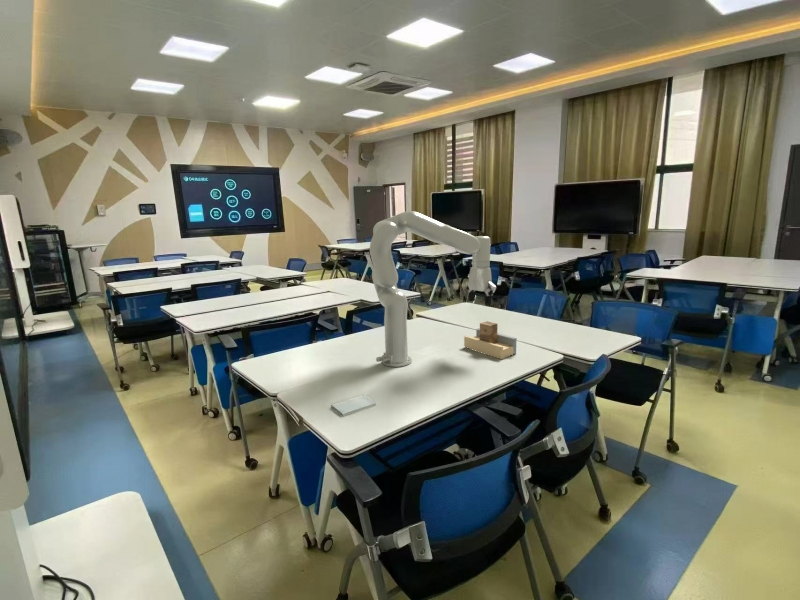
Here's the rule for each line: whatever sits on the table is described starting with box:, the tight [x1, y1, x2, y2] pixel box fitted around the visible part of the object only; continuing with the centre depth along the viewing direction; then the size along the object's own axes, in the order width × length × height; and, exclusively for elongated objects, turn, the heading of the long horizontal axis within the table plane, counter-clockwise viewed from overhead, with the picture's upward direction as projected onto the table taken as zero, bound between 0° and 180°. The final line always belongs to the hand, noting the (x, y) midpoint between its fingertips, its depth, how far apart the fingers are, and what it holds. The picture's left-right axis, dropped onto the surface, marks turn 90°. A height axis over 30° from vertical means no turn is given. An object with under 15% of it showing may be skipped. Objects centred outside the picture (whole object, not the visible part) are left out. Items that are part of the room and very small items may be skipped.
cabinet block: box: [479, 320, 498, 344], centre depth 184 cm, size 6×6×9 cm
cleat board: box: [463, 327, 517, 360], centre depth 186 cm, size 10×22×8 cm, turn 36°
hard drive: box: [330, 394, 377, 418], centre depth 135 cm, size 2×8×12 cm
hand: (479, 302), depth 181 cm, fingers open, 9 cm apart
